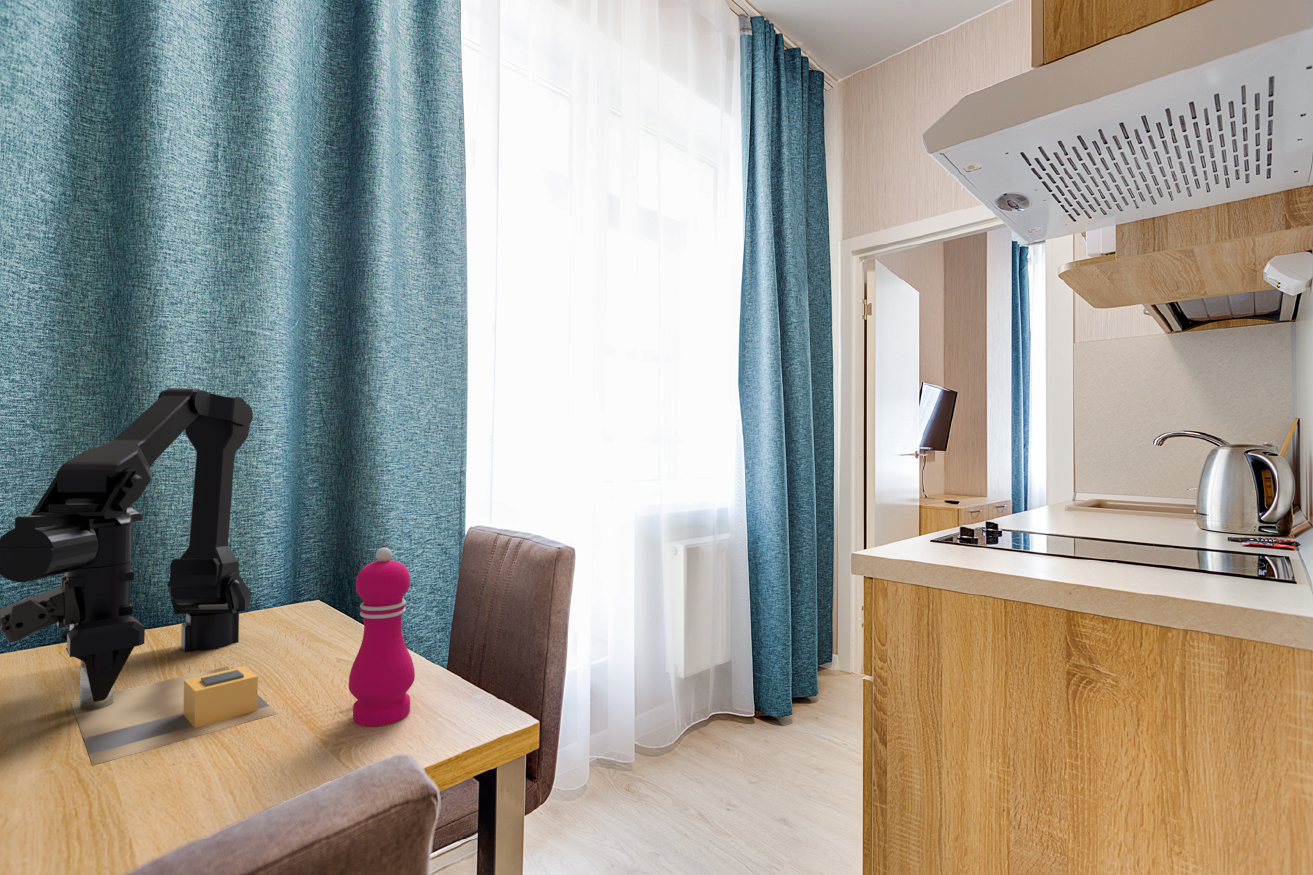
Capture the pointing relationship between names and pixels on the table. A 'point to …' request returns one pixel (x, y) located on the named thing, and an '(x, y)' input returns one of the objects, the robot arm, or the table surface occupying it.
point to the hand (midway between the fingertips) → (97, 694)
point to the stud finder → (220, 696)
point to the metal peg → (86, 694)
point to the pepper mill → (382, 645)
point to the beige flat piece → (148, 720)
